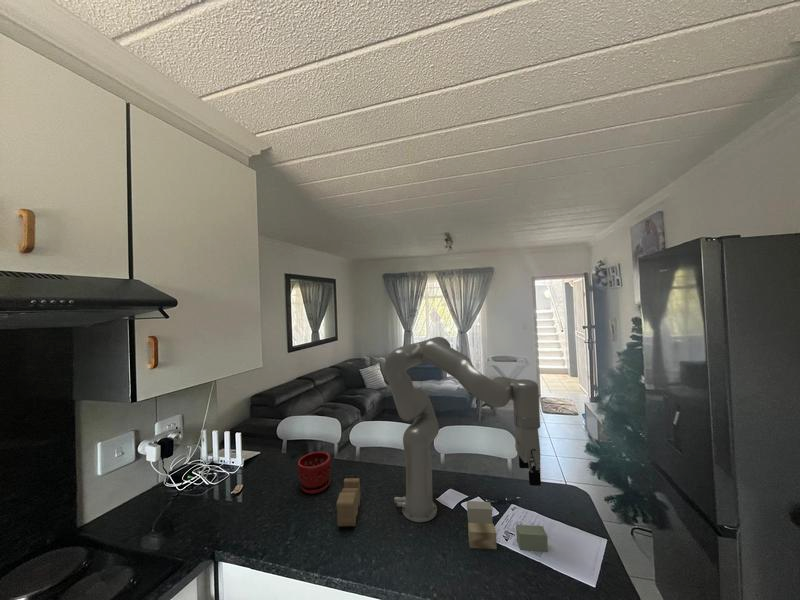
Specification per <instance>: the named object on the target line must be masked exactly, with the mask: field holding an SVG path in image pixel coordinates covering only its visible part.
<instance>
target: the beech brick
mask: <svg viewBox="0 0 800 600" xmlns="http://www.w3.org/2000/svg"><path fill="white" fill-rule="evenodd" d="M467 531H468V533H467V535H468V536H467V537H468V545H469V548H470V549H485V550H486V549H487V550H497V547H498V546H497V544H498V543H497V542H498V541H497V531H496V527H495V524H494V523H493V524H487V523H469V522H467Z"/></svg>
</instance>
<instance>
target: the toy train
mask: <svg viewBox="0 0 800 600" xmlns="http://www.w3.org/2000/svg"><path fill="white" fill-rule="evenodd" d="M361 494H362V493H361V483H360V478H359V477H357V478H356V477H355V478H353V477H352V478H344V479H343V488H341V491H340V492H339V494H338V498H337V501H336V505H335V506H336V509H337V510H336V511H337V512H336V514H337V515H336V517H337V519H336V520H337V526H338V527H355V526H356V522H357V517H358V515H359V514H358V513H359V508H360V504H361V496H362V495H361Z"/></svg>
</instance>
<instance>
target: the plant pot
mask: <svg viewBox="0 0 800 600" xmlns="http://www.w3.org/2000/svg"><path fill="white" fill-rule="evenodd" d="M321 460H323V462H321ZM310 462H311V463H310ZM331 464H332V463H331V456H330V454H329V453H328V452H326V451H315V452H310V453H307V454H305V455H303V456H302V457H300V458H299V459H298V461H297V471H298V477H299V481H300V482H301V486H300V488H301V490H302V492H304V493H306V494H317V493H321V492H323V491H324V490H326V489H327V487H328V486H330V484H331V478H330V473H331Z"/></svg>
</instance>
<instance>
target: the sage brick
mask: <svg viewBox="0 0 800 600" xmlns="http://www.w3.org/2000/svg"><path fill="white" fill-rule="evenodd" d="M515 528H516V530H515V531H516V532H515V533H516V534H515V535H516V542H517V546H518V548H519V551H524V552H525V551H528V552H540V553H542V552H543V553H548V550H549V549H548V534H547V533H546V530H545V529H544V526H542V525H527V524H525V525H524V524H515Z"/></svg>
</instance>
